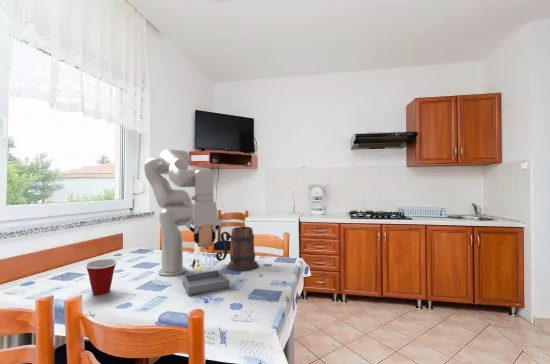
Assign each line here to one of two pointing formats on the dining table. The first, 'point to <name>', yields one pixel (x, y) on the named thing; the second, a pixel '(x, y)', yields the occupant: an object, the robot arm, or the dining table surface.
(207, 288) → the tray
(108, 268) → the plastic cup
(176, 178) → the robot arm
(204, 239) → the tan cylinder
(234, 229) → the tankard
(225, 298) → the dining table surface
